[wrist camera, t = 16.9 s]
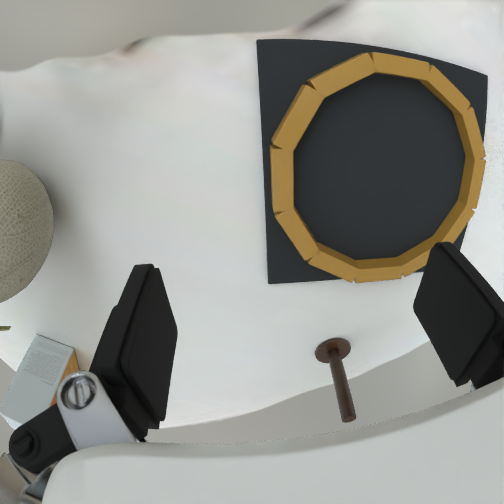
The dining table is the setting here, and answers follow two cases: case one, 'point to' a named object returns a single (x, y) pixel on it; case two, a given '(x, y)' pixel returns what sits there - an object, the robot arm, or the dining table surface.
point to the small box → (37, 380)
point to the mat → (363, 155)
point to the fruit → (22, 228)
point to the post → (338, 373)
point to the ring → (298, 123)
